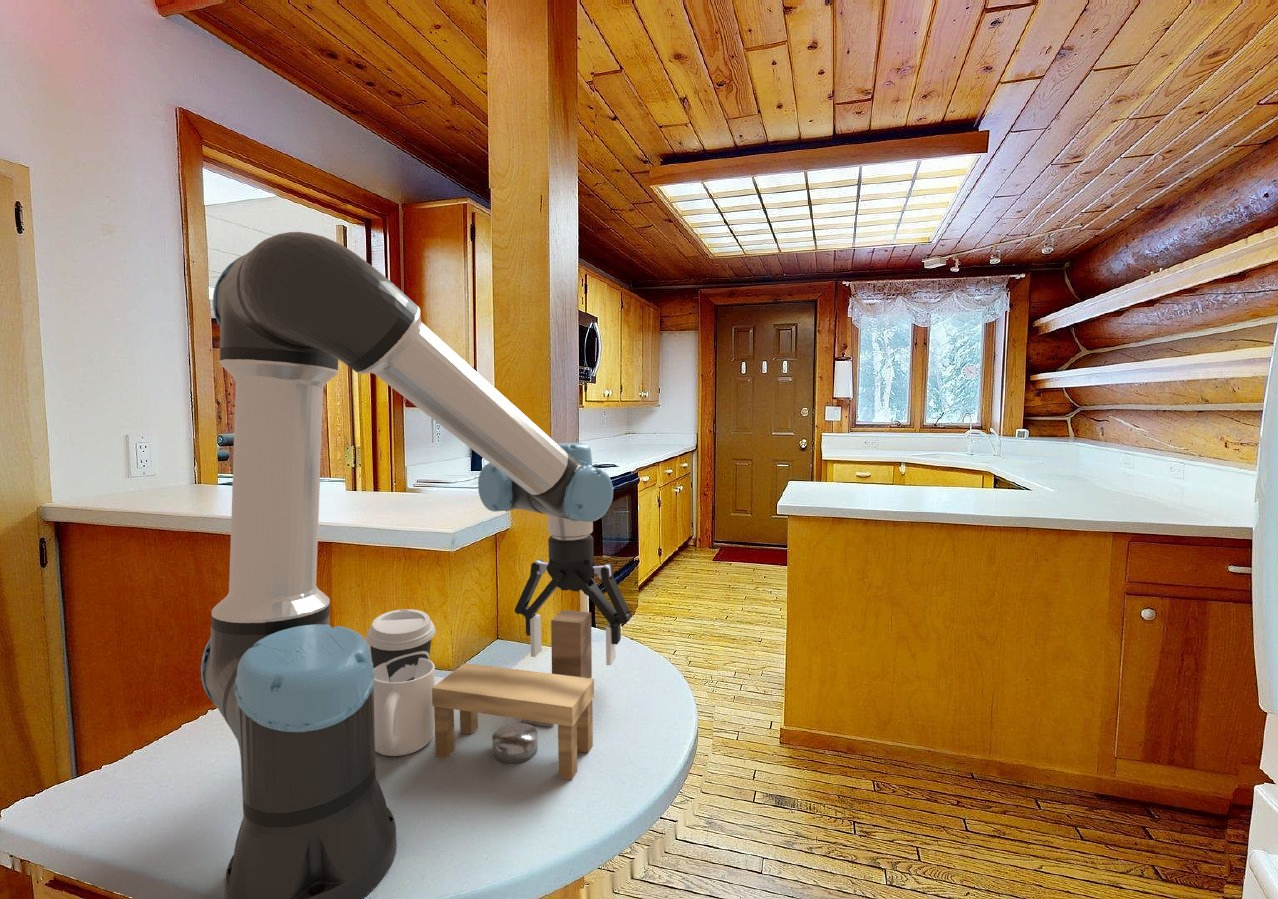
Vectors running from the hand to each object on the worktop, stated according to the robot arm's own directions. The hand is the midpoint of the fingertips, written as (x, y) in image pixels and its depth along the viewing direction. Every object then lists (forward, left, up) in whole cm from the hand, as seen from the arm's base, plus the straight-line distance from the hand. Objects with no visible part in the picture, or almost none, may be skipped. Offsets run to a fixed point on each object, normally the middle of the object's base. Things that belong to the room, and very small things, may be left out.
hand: (573, 658), depth 100 cm
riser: (-21, 0, -4) cm, 22 cm away
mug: (-25, +16, -4) cm, 30 cm away
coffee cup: (-17, +21, -4) cm, 28 cm away
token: (-21, 0, -4) cm, 22 cm away
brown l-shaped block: (-6, 0, -4) cm, 7 cm away
